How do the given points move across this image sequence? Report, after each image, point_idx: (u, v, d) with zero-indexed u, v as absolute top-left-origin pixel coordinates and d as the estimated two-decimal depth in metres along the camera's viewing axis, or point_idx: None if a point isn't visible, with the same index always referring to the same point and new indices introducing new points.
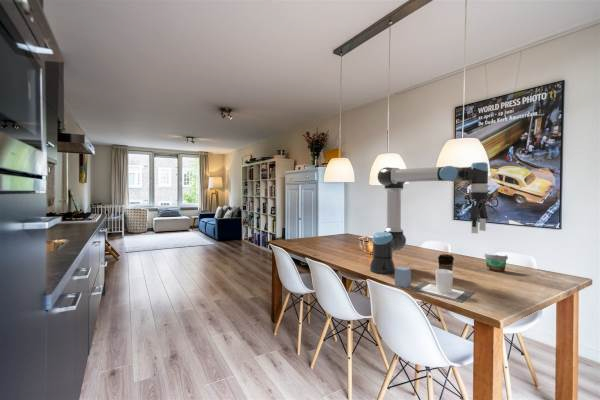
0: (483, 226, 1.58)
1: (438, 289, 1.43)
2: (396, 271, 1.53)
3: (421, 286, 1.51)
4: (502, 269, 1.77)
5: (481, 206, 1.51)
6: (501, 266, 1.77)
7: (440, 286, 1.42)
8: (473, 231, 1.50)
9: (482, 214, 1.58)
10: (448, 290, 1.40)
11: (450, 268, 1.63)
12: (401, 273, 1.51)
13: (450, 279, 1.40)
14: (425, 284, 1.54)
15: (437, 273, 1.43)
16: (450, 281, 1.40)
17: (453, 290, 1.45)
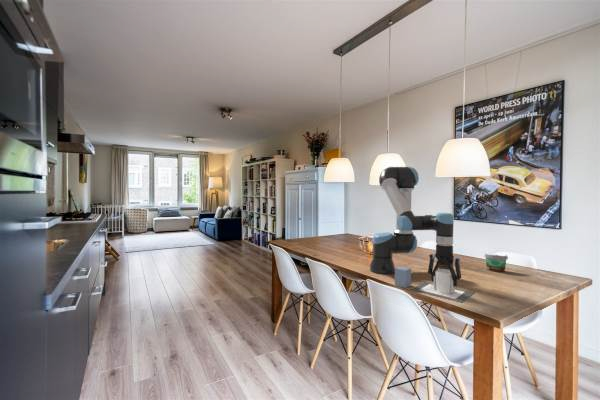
0: None
1: (438, 289, 1.43)
2: (396, 271, 1.53)
3: (421, 286, 1.51)
4: (502, 269, 1.77)
5: (439, 260, 1.43)
6: (501, 266, 1.77)
7: (440, 286, 1.42)
8: None
9: None
10: (448, 290, 1.40)
11: None
12: (401, 273, 1.51)
13: (450, 279, 1.40)
14: (425, 284, 1.54)
15: (437, 273, 1.43)
16: (450, 281, 1.40)
17: None
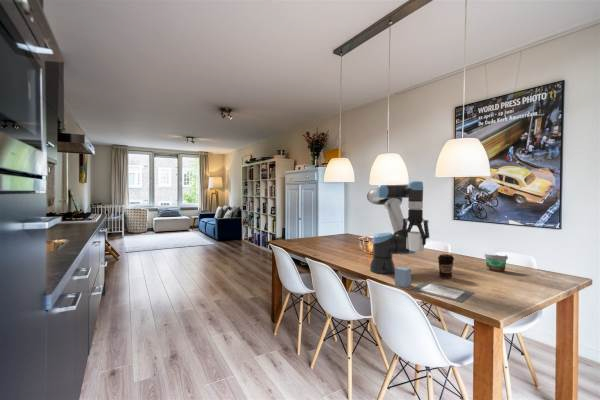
0: None
1: (410, 248, 1.62)
2: (396, 271, 1.53)
3: (421, 286, 1.51)
4: (502, 269, 1.77)
5: (410, 222, 1.63)
6: (501, 266, 1.77)
7: (411, 245, 1.61)
8: None
9: None
10: (418, 249, 1.60)
11: (450, 268, 1.63)
12: (401, 273, 1.51)
13: (420, 239, 1.59)
14: (425, 284, 1.54)
15: (409, 234, 1.62)
16: (420, 240, 1.60)
17: (453, 290, 1.45)
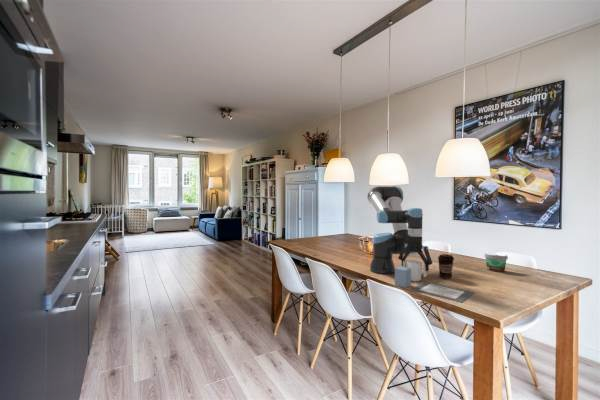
0: None
1: None
2: (396, 271, 1.53)
3: (421, 286, 1.51)
4: (502, 269, 1.77)
5: (409, 249, 1.64)
6: (501, 266, 1.77)
7: (411, 275, 1.62)
8: None
9: None
10: (417, 278, 1.60)
11: (450, 268, 1.63)
12: (401, 273, 1.51)
13: (419, 268, 1.60)
14: (425, 284, 1.54)
15: (408, 263, 1.63)
16: (419, 270, 1.60)
17: (453, 290, 1.45)
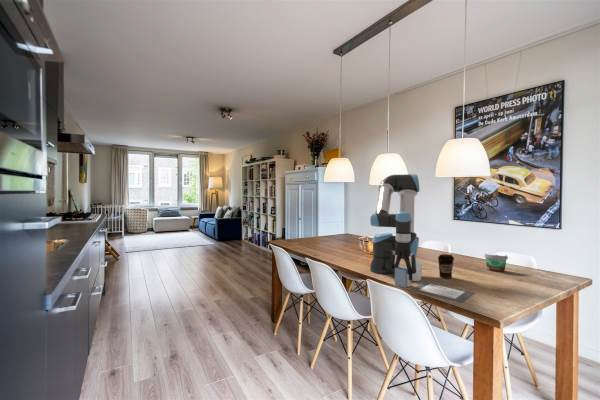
0: None
1: None
2: (396, 271, 1.53)
3: (421, 286, 1.51)
4: (502, 269, 1.77)
5: (398, 255, 1.54)
6: (501, 266, 1.77)
7: None
8: None
9: None
10: (417, 278, 1.60)
11: (450, 268, 1.63)
12: (401, 273, 1.51)
13: (419, 268, 1.60)
14: (425, 284, 1.54)
15: None
16: (419, 270, 1.60)
17: (453, 290, 1.45)
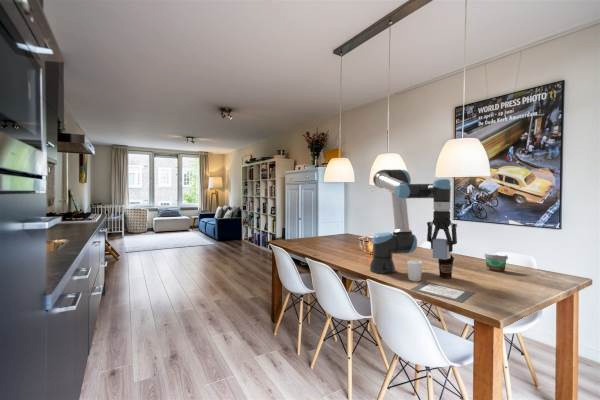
0: None
1: (409, 277, 1.63)
2: (434, 242, 1.43)
3: (421, 286, 1.51)
4: (502, 269, 1.77)
5: (436, 226, 1.44)
6: (501, 266, 1.77)
7: (411, 275, 1.62)
8: None
9: None
10: (417, 278, 1.60)
11: (450, 268, 1.63)
12: (440, 244, 1.41)
13: (419, 268, 1.60)
14: (425, 284, 1.54)
15: (408, 263, 1.63)
16: (419, 270, 1.60)
17: (453, 290, 1.45)
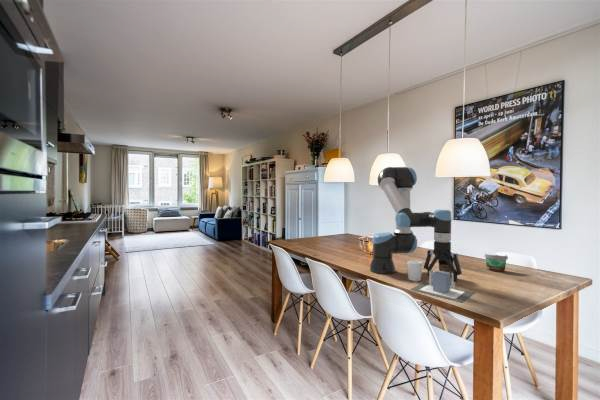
0: None
1: (409, 277, 1.63)
2: (435, 276, 1.44)
3: (421, 286, 1.51)
4: (502, 269, 1.77)
5: (436, 256, 1.44)
6: (501, 266, 1.77)
7: (410, 275, 1.62)
8: None
9: None
10: (417, 278, 1.60)
11: None
12: (441, 278, 1.42)
13: (419, 268, 1.60)
14: (425, 284, 1.54)
15: (408, 263, 1.63)
16: (419, 270, 1.60)
17: (453, 290, 1.45)
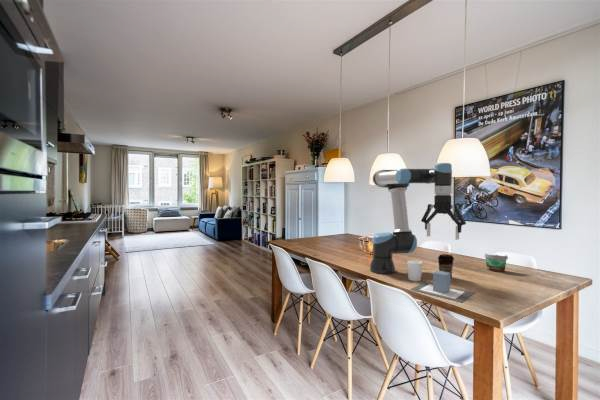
0: None
1: (409, 277, 1.63)
2: (435, 276, 1.44)
3: (421, 286, 1.51)
4: (502, 269, 1.77)
5: (436, 210, 1.44)
6: (501, 266, 1.77)
7: (410, 275, 1.62)
8: None
9: None
10: (417, 278, 1.60)
11: (450, 268, 1.63)
12: (441, 278, 1.42)
13: (419, 268, 1.60)
14: (425, 284, 1.54)
15: (408, 263, 1.63)
16: (419, 270, 1.60)
17: (453, 290, 1.45)
